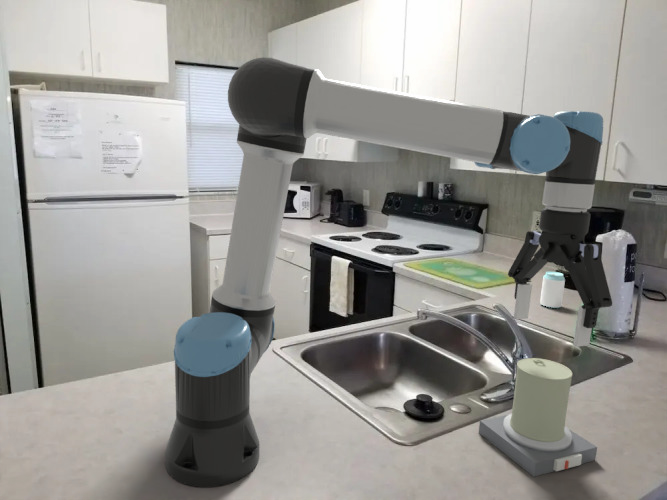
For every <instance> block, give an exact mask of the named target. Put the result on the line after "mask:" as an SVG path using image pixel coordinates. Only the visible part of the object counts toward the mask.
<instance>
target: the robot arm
mask: <svg viewBox="0 0 667 500" xmlns="http://www.w3.org/2000/svg"><path fill="white" fill-rule="evenodd" d="M227 103H228V108H229V110H230V112H231V115H232V117H233V118H234V119H235V121H236V122H237V123H238V131H237V138H236V143H237V145H238V146H239V148H240V149H241V150H242V152H243V158H242V163H241V168H240V175H239V182H238V189H237V195H236V199H235V206H234V213H233V218H232V219H233V220H232V224H231V230H230V236H229V240H228V241H229V243H228V248H227V255H226V259H225V268H224V273H223V279H222V284H221V285H219V286H218V287H217V288H215V289H214V290H213V291H212V293H211V300H210V307H209V310H208V311H209V312H208V313H203V314H200V316H194V317H191V318H190V319H188V320H186V321H185V322H183V323H182V325H180V327H179V328H178V329H177V332H176V334H175V339H174V348H173V357H174V376H175V377H174V378H175V379H174V380H175V381H174V383H175V417H176V418H175V421H174V423H173V427H172V430H171V432H170V435H169V439H168V441H167V444H166V448H165V452H164V453H165V469H166V471H167V473H168V474H169V475H170V477H172V478H173V479H174V480H176V481H177V482H179V483H181V484H184V485H189V486H191V487H192V486H194V487H201V488H202V487H203V488H205V487H207V488H208V487H211V488H212V487H219V486H223V485H228V484H231V483H233V482H236V481H238V480H241V479H242V478H244V477H246V476H247V475H248V474H250V473H251V472H252V471H253V470H254V469H255V467H256V466H257V465H258V463H259V459H260V448H261V446H260V439H259V436H258V433H257V431H256V427H255V425H254V423H253V419H252V417H251V413H250V396H251V391H250V390H251V389H250V388H251V386H250V383H251V375H252V373H253V371H254V370H255V368H256V366H257V365H258V363H259V362H260V360H261V358H262V357H263V355H264V354H265V353H266V352H267V350H268V348H269V347H270V345H271V344H272V341H273V339H274V335H275V328H276V327H275V325H276V324H275V318H274V314H275V310H276V309H275V308H276V305H277V304H276V303H277V301H276V299H275V297H274V296H273V295H272V293H271V292H270V290H271V284H272V279H273V276H274V275H273V273H274V267H275V263H276V260H277V259H276V258H277V252H278V249H279V248H278V247H279V241H280V235H281V232H282V231H281V230H282V225H283V219H284V214H285V209H286V205H287V204H286V203H287V197H288V192H289V186H290V184H291V183H290V181H291V176H292V171H293V167H294V164H295V162H296V161H298V160H299V159H300V158H302V157H303V156H304V154H305V150H306V144H307V143H306V142H307V139H309V138H311V136H314V135H315V134H320V135H327V136H332V137H338V138H342V139H347V140H348V139H349V140H353V141H360V142H364V143H369V144H370V143H371V144H375V145H381V146H386V147H392V148H398V149H403V150H409V151H413V152H419V153H424V154H431V155H434V156H441V157H446V158H451V159H456V160H457V159H458V160H463V161H468V162H473V163H474V164H475V166H477V167H479V168H485V169H486V168H487V169H492V170H495V169H499V170H512V171H517V172H518V171H519V172H523V173H527V174H532V175H539V174H543V173H544V174H545V178H544V186H543V194H542V201H541V204H542V205H544V207H543V208H542V209H541V210H540V217H539V224H538V227H539V230H541V231H539V230H534V231H532V230H531V231H530V230H529V231H527V232H526V234H525V238H524V242H523V245H522V246H521V248H520V250H519V252H518V253H517V255H516V257H515V259H514V261H513V263H512V265H511V266H510V268H509V271H508V272H507V276H508V277H509V278H513V280H514V282H515V288H514V289H515V290H514V296H513V297H514V300H515V303H514V304H515V305H514V312H513V319H514V320H523V319H524V320H525V319H529V311H530V303H531V299H532V298H531V296H532V291H533V290H532V289H533V284H532V282H533V281H532V279H533V278H534V277H535V276H536V274H538V273H539V272H540V271H541V270H542V269H543V268H544V266H546V265H547V264H548V263H550V264H551V263H554V264H556V265H557V266H561V267H563V268H564V269H565V270H566V271H567V272H568V274H569V275H570V277H571V280H572V283H573V285H574V287H575V288H576V289H575V290H576V291H577V293H578V295H579V297H580V300H581V301H582V303H583V305H579V306H578V311H577V316H576V317H577V318H576V326H575V331H574V337H573V344H572V345H573V347H576V348H578V347H585V346H590V342H591V337H592V331H593V329H594V328H596V327H597V322H598V315H599V310H600V309H602V308H610V307H612V306H613V300H612V296H611V292H610V289H609V285H608V281H607V277H606V273H605V268H604V264H603V261H602V254H603V253H602V250H603V247H602V245H601V244H600V243H599V244H598V243H597V244H594V243H593V244H586V243H585V236H586V235H587V234H588V233H589V229H590V228H589V227H590V223H591V222H590V221H591V213H590V212H589V211H588V210H589V209H591V208H592V207H593V205H592V204H593V199H594V193H595V186H596V179H597V178H596V177H597V171H598V166H599V161H600V155H601V151H602V150H601V149H602V148H601V147H602V145H603V133H604V118H603V115H601V114H600V113H598V112H592V111H582V110H581V111H574V110H571V111H568V110H567V111H558V112H556V113H555V114H554V115H553V116H550V115H547V114H546V115H544V114H540V113H539V114H534V115H528V114H522V113H518V112H517V113H516V112H510V111H503V110H500V109H497V108H496V109H495V108H490V107H483V106H477V105H474V104H473V105H472V104H467V103H461V102H457V101H450V100H446V99H440V98H433V97H428V96H422V95H417V94H412V93H406V92H402V91H395V90H390V89H385V88H380V87H379V88H377V87H374V86H373V87H372V86H369V85H368V86H367V85H364V84H363V85H361V84H358V83H357V84H356V83H350V82H345V81H339V80H334V79H328V78H325V76H324V75H323V74H322V72H321V71H320V69H316V68H312V67H307V66H302V65H298V64H293V63H289V62H286V61H284V60H280V59H277V58H273V57H263V56H262V57H256V58H253V59H250V60H248V61H246V62H244V63H243V64H242V65H241V66H239V67H238V69H236V71H235V72H234V73H233V75H232V77H231V79H230V82H229V84H228V90H227ZM539 245H540V248H539ZM538 248H539V249H538Z"/></svg>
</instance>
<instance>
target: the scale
mask: <svg viewBox="0 0 667 500" xmlns="http://www.w3.org/2000/svg"><path fill="white" fill-rule="evenodd" d="M511 415H512V413H510V414H505V415H501V416H496V417H490V418H485V419H481V420H479V425H478V434H480V435H481V436H482V437H483V438H485V439H486V440H487V441H488V442H489V443H491V444H492V445H493V446H494V447H496V448H497V449H498V450H499V451H501V452H502V453H503V454H504V455H506V456H507V457H508V458H510V459H511V460H512V461H513V462H515V463H516V464H517V465H518V466H520V467H521V468H522V469H523V470H525V471H526V472H527V473H528V474H529V475H531V476H532V477H538V476H541V475H544V474H545V475H546V474H549V473H552V472H559V471H563V470H568V469H570V468H574V467H577V466H581V465H583V464H585V463H586V464H587V463H590V462H593V461H596V459H597V458H596V457H597V451H598V446H596V445H595V444H593V443H592V442H590V441H588V440H587V439H586V438H584V437H583V436H581V435H579V434H578V433H576V432H575V431H573V430H571V429H570V428H569V427H568V426H566V425H565V428H564V431H565V435H564V437H563V438H562V439H561V440H559V441H555V442H542V441H536V440H533V439H529V438H527V437H524V436H522V435H520V434H519V433H517V432H516V431H515V430H514V429H513V428H512V427H511V425H510V419H511Z"/></svg>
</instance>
